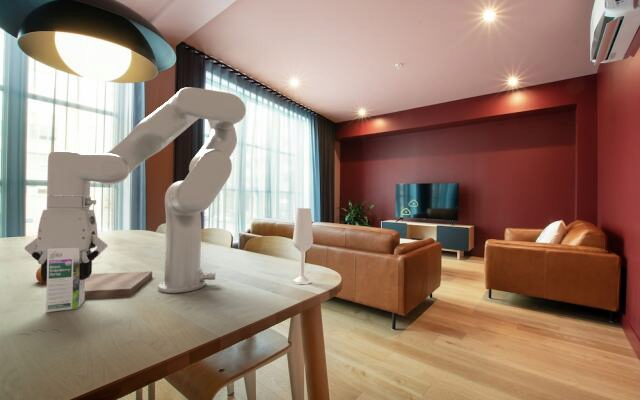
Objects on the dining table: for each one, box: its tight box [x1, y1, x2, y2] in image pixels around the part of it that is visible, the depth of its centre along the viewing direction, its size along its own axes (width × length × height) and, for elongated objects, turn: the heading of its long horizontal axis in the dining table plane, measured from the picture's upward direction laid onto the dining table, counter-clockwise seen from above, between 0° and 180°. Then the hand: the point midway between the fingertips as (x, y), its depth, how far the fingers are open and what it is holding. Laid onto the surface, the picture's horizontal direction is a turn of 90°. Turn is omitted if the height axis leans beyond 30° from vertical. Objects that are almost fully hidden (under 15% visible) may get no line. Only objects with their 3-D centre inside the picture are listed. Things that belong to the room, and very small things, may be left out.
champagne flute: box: [292, 207, 314, 282], centre depth 89 cm, size 7×7×24 cm
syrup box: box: [45, 248, 86, 313], centre depth 65 cm, size 6×6×14 cm
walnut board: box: [84, 271, 153, 300], centre depth 79 cm, size 17×18×2 cm
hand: (66, 278), depth 65 cm, fingers closed on syrup box, 6 cm apart
